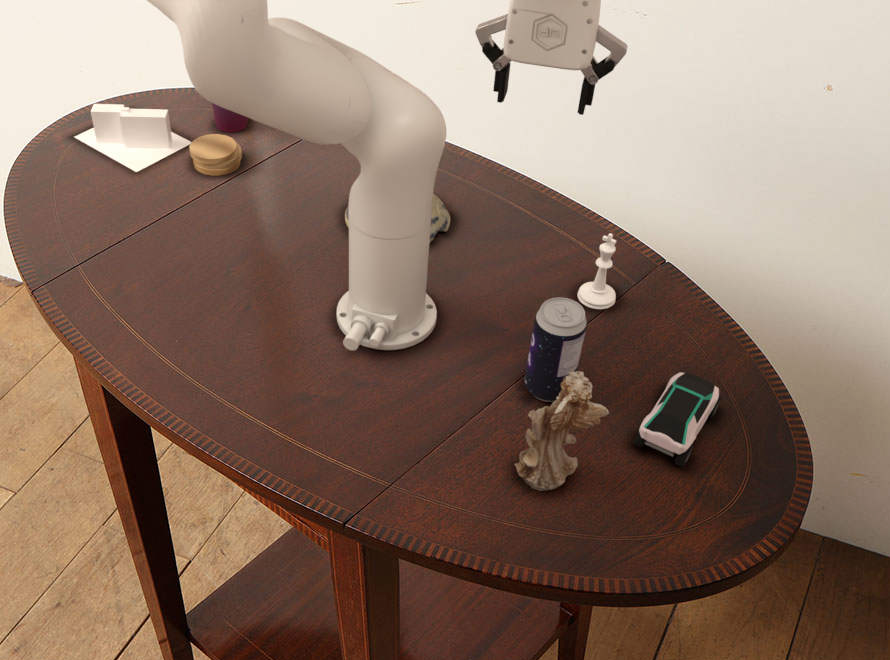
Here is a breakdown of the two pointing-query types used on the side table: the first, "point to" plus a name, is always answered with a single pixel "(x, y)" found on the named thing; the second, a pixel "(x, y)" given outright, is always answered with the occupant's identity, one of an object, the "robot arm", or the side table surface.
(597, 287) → the chess piece
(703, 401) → the toy car
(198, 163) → the chip pile
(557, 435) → the figurine
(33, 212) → the side table surface
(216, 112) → the cup
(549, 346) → the beverage can
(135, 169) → the napkin holder
